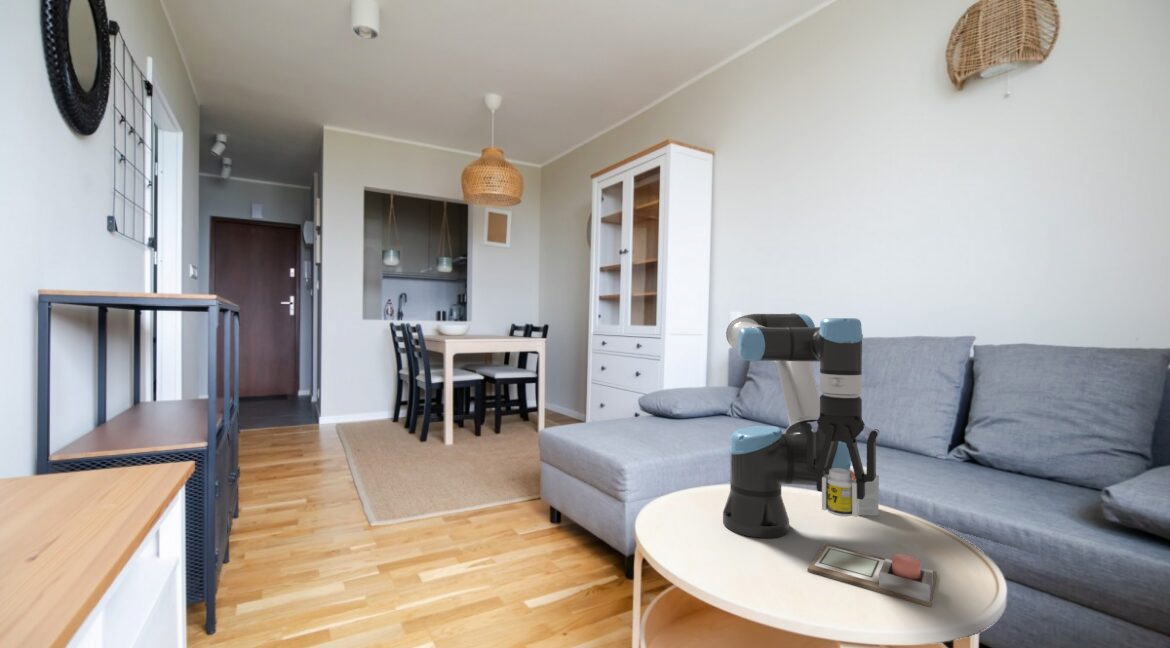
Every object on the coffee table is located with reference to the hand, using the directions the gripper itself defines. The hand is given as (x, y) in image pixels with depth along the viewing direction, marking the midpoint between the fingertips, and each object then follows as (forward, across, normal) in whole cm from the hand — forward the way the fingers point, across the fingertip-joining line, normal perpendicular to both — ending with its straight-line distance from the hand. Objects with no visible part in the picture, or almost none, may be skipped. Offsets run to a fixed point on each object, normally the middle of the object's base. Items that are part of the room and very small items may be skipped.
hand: (840, 510), depth 101 cm
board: (+11, +5, +1) cm, 12 cm away
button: (+9, +11, -2) cm, 14 cm away
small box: (+11, -3, +37) cm, 38 cm away
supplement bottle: (+1, 0, 0) cm, 1 cm away
